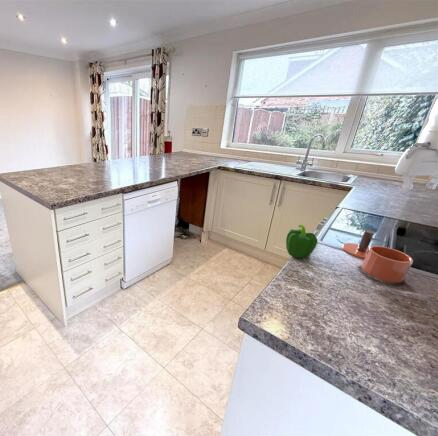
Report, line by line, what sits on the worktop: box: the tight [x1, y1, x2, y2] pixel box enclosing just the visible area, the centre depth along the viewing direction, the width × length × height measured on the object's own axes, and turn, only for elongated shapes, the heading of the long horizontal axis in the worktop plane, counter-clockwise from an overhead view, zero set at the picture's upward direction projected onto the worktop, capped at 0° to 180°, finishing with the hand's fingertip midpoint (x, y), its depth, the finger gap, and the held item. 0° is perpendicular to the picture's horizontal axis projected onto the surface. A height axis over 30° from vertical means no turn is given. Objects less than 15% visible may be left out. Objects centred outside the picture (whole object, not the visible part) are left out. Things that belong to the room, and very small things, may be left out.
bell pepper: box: [285, 224, 318, 259], centre depth 79 cm, size 8×8×10 cm
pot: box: [360, 245, 414, 284], centre depth 71 cm, size 9×9×7 cm
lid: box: [342, 229, 375, 260], centre depth 82 cm, size 10×10×8 cm
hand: (417, 189), depth 76 cm, fingers open, 8 cm apart
